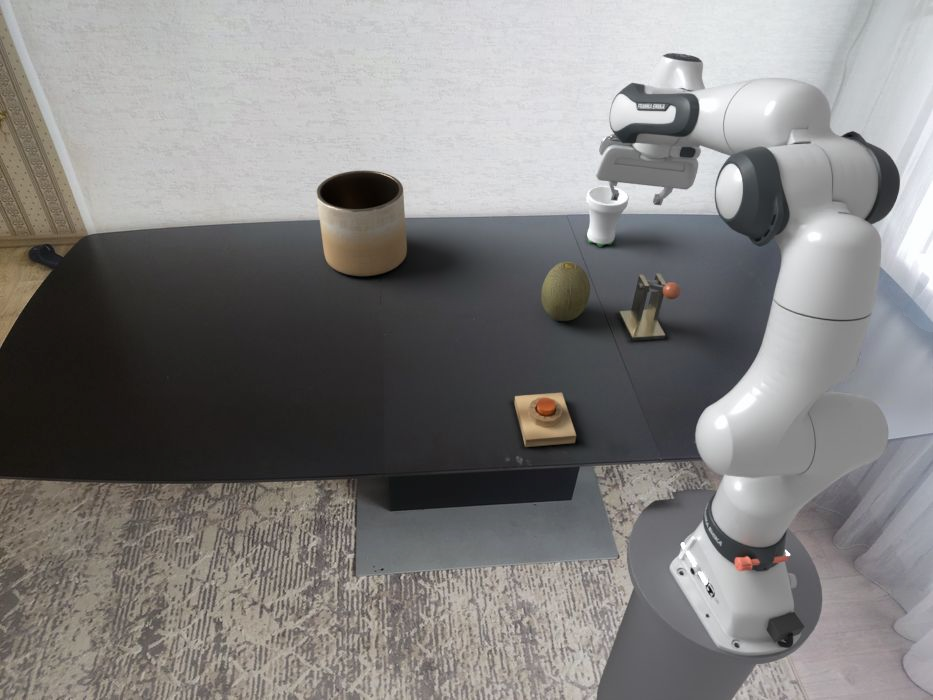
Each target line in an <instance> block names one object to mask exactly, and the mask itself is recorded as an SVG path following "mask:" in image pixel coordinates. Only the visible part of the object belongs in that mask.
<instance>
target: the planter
mask: <svg viewBox="0 0 933 700" xmlns="http://www.w3.org/2000/svg"><path fill="white" fill-rule="evenodd" d="M404 196H405V195H404V187H403V184H402V183H401V181H400V180H399V179H397V178H396V177H394V176H393V175H390V174H388V173H385V172H381V171H377V170H376V171H375V170H363V169H362V170H350V171H346V172H345V171H344V172H340V173H338V174H334V175H332V176H330V177H328V178H326V179H324V180H323V181H321V183H320V184H319V185H318V187H317V188H316V199H317V200H316V202H317V209H318V216H319V225H320V232H321V239H322V240H321V241H322V248H323V254H324V258H325V261H326V263H327V264H328V265H329V267H331V268H332V269H333V270H335V271H336V272H339V273H342V274H344V275H347V276H353V277H361V278H362V277H374V276H379V275H383V274H385V273H388V272H390V271H392V270H394V269H396V268H397V267H399V266H400V265H401V264H402V263H403V262H404V261H405V258H406V257H407V253H408V243H407V227H406V214H405V200H404V199H405V197H404Z"/></svg>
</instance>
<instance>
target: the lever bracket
mask: <svg viewBox="0 0 933 700" xmlns="http://www.w3.org/2000/svg"><path fill="white" fill-rule="evenodd" d="M647 280H648V279H647V278H646V277H645V275H644V274H639V275H638V279H637V283H636V287H635V291H634V296H633V298H632V299H633V300H632V304H631V309H630V310H620V311H619V312H618V316H619V319H620V321H621V322H622V325H623V326H624V329H625V331H626V333H627V334H628V337H629V339H630V341H631V342H639V341H640V342H641V341H653V340H665V337H666V333H665V332H664V330H663V328H662V327H661V325H660V323H659V321H658V319H659V314H660V311H661V306H662V303H663V299H664V297H665V296H664V294H663V292H662V291H657V292H650V296H649V300H648V304H647V306H646V301H647V298H648V294H649V292H648V290H649V284H648V282H647ZM654 280H656V281H658V285H662V286H665V285H666V284H667V282H666V281H665V279H664V277H663V276H662V274H661V273H655V275H654ZM645 306H646V307H647V308H646V309H645Z"/></svg>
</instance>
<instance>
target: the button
mask: <svg viewBox="0 0 933 700" xmlns="http://www.w3.org/2000/svg"><path fill="white" fill-rule="evenodd" d="M554 411H555V402H554V401H553V400H551V399H549V398H542V399H540V400H539V401H538V402H537V413H538V414H539V415H541V416H544V417H549V416H552V415H553V414H554Z"/></svg>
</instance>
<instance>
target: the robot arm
mask: <svg viewBox="0 0 933 700" xmlns="http://www.w3.org/2000/svg"><path fill="white" fill-rule="evenodd" d="M703 70H704V62H703V61H702V60H701V59H700V58H699V57H698V56H694V55H691V54H686V53H675V52H670V53H666V54H663V55H661V56H660V58H659V60H658V61H657V63H656V65H655V68H654V70H653V72H652V74H651V77H650V79H649V82H648V85H645V84H643V83H637V82H630V83H629V84H628V85H626V86H625V87H624V88H622V89H621V90H620V91H618V93H617V94H616V95H615V97H614V98H613V100H612V103H611V106H610V110H609V117H608V118H609V127H610V130H611V132H612V133H613V134H610V135H608V136H605V137H603V139H601V142H600V145H599V150H598V152H599V154H598V156H597V159H596V161H595V164H594V167H593V171H594V172H593V173H594V174H595V177H596V178H597V180H598V181H603V182H608V186H610V188H611V192H610V195H609V198H610V200H614V201H617V200H618V197H619V191H618V190H615V189H614V187H617V186H618V183H622V184H630V185H631V184H632V185H640V186H649V187H658V188H663V189H662V190H661V191H659V193H655V194H654V195H653V196H654V197H653V198H652V203H653V206H662V204H663V202H664V199H666V198H667V197H668V196H669V195H670V194H671V193H673V190H674V189H677V190H685V191H687V190H689V189H690V188H691V187H692V186H693V185H694V183H695V180H696V178H697V174H698V171H699V170H698V169H699V161H698V158H700V156H701V153H702V150H701V147H704V148H707V149H710V150H712V151H714V152H717V153H721V154H724V155H725V156H726V155H727V156H729V157H727V158H726V160H725V161H724V163H723V164H722V166H721V168H720V169H719V171H718V174H717V176H716V179H715V185H714V203H715V208H716V212H717V214H718V216H719V217H720V219H721V221H723V222H724V223H725V224H726V226H728V227H729V228H730V229H731V230H732V231H734V232H736V233H738V234H740V235H743V236H745V237H748V239H749V240H750V242H751V243H752V244H753V245H756V246H757V247H763V246H766V245H768V244H769V243H770V242H771V241H772V240H774V242H775V243H776V244H777V246H778V249H779V251H780V257H781V260H780V261H781V262H780V267H779V272H778V276H777V279H776V284H775V289H774V292H773V297H772V301H771V306H770V311H769V315H768V319H767V324H766V327H765V331H764V335H763V339H762V342H761V345H760V348H759V351H758V352H757V355H756V357H755V359H754V360H753V361H752V364H751V365H750V367H749V368H748V370H747V371H746V372H745V374H744V375H743V377H742V378H741V379H740V380H739V381H738V382H737V383H736V384H735V385H734V387H732V389H731V390H730V391H728V392H727V393H726V394H725V395H724V396H723V397H721V398H720V399H718V400H717V401H716V402H713V403H712V404H710V405H709V406H706V408H704V410H703V412H702V413H701V415H700V416H699V418H698V420H697V423H696V427H695V434H694V435H695V436H694V437H695V438H694V439H695V445H696V449H697V452H698V454H699V456H700V458H701V459H702V461H703V462H704V464H705V465H706V466H707V467H708V468H709V469H710V470H711V471H712V472H713V473H714V474H717V475H720V476H722V478H721V481H720V484H719V486H718V488H717V490H716V491H717V492H716V493H715V494H714V495H713V496H712V498H711V499H710V501H709V503H708V504H707V506H706V508H705V512H704V515H703V520H702V522H701V523H700V524H699V526H698V527H697V529H696V530H695V531H694V532H693V533H691V534H690V535H689V536H688V537H687V538H686V539H685V540H684V542H683V543H681V549H680V553H679V555H678V556H677V557H676V558H675V559H674V560H673V562H672V563H671V564H670V567H669V569H670V572H671V573H672V575H673V577H674V578H675V580H676V582H677V583H678V585H679V586H680V588H681V590H682V591H683V593H684V595H685V596H686V598H687V599H688V601H689V603H690V604H691V606H692V608H693V609H694V611H695V612H696V614H697V616H698V617H699V619H700V621H701V622H702V624H703V625H704V627H705V629H706V630H707V632H708V633H709V635H710V637H711V638H712V640H713V642H714V643H715V644H716V646H717V647H718V648H719V649H721V650H724V651H726V652H729V653H732V654H737V655H744V656H759V655H768V654H774V653H778V652H781V651H784V650H786V649H788V648H790V647H792V646H793V645H794V644H795V643H796V642H797V641H798V640H799V638H800V636H801V631H802V630H803V628H804V627H805V626H804V625H803V624H802V622H801V621H800V619H799V618H798V616H797V615H796V614H795V612H794V601H793V596H792V591H791V589H794V588H796V586H797V579H796V576H795V575H794V574H792V573H787V568H786V564H785V561H787V560H788V559H787V558H789V556H790V554H789V553H788V552H787V551H786V550H785V542H786V538H787V528H788V529H789V527H790V525H791V524H792V522H793V521H794V519H795V518H796V516H797V515H798V513H799V512H800V511H801V510H802V509H803V508H804V507H805V506H806V505H807V504H808V503H809V502H811V501H812V500H813V499H814V498H815V497H817V496H818V495H819V494H821V493H822V492H823V491H824V490H826V489H827V488H829V487H830V486H832V484H834V483H835V482H837V481H838V480H839V479H841V478H843V477H845V476H846V475H848V474H849V473H851V472H853V471H855V470H858V469H859V468H861V467H864V466H866V465H868V464H870V463H872V462H875V461H876V460H878V459H880V457H882V455H883V454H884V452H885V450H886V448H887V445H888V441H889V425H888V421H887V419H886V416H885V414H884V413H883V411H882V409H881V408H880V406H879V405H878V404H877V403H876V402H875V401H874V400H873V399H872V398H870V397H868V396H866V395H862V394H857V393H851V392H843V391H833V390H830V389H832V388H833V387H835V386H837V385H838V384H840V383H842V382H843V381H844V380H845V379H847V378H848V377H850V375H851V374H852V373H853V372H854V371H855V369H856V367H857V365H858V363H859V360H860V356H861V352H862V349H863V345H864V342H865V338H866V335H867V332H868V327H869V324H870V321H871V317H872V313H873V309H874V305H875V301H876V298H877V292H878V286H879V281H880V274H881V273H880V272H881V263H882V238H881V235H880V232H879V231H878V229H877V228H876V227H875V226H874V225H875V224H876V223H878V222H881V221H882V220H883V219H885V218H886V217H887V216H888V215H889V214H890V212H892V210H893V208H894V206H895V204H896V203H897V199H898V196H899V193H900V188H901V178H900V177H901V176H900V172H899V169H898V166H897V164H896V163H895V160H893V158H892V157H891V155H890V154H888V152H887V151H885V150H884V149H882V148H881V147H879V146H876V145H875V144H872V143H870V142H867V141H866V140H865V138H864V137H863V136H862V135H861V134H860V133H858V132H856V131H854V130H851V131H848V132H846V133H843V134H842V135H838V134H836V133H835V132H834V131H833V130H832V127H831V114H832V113H831V106H830V102H829V99H828V98H827V96H826V94H824V92H823V91H822V90H821V89H820V88H818V87H817V86H815V85H813V84H810V83H807V82H805V81H801V80H797V79H792V78H786V77H762V78H754V79H748V80H741V81H738V82H737V81H736V82H734V83H729V84H724V85H723V84H722V85H719V86H713V87H707V88H706V86H705V83H704V80H703ZM679 573H681V574H683V576H682V575H680V574H679ZM784 639H786V640H787V642H785V641H784ZM734 645H737V646H738V647H739V648H736V647H735V646H734Z"/></svg>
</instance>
